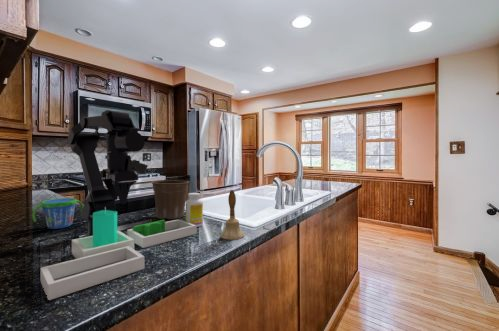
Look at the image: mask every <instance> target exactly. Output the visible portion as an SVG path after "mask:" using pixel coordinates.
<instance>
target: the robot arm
mask: <svg viewBox="0 0 499 331" xmlns="http://www.w3.org/2000/svg"><path fill="white" fill-rule="evenodd" d="M100 114H101V115H95V116H93V115H92V116H82V117H81V118H80V119H79V122H78V123H77V124H75V125H73V126H72V127H71V128H70V131H69V132H68V136H67V143H68V145H69V146H70V148H71V152H73V153H74V154H76V156H78V157H79V160H80V164H81V168H82V172H83V176H84V180H85V184H86V187H87V191H88V193H87V195H86V197H85V200H84V203H85V204H83V206H84V207H83V209H82V211H81V210H80V212H81V214H80V215H81V216H80V217H81V220H83V221H88V222H87V223H88V227H87V228H88V232H86V233H85V234H84V236H85V237H88V236H93V213H94V212H98V211H101V210H105V207H106V210H108V211H116V208H117V202H116V201H117V200H119V203H120V204H121V205H126V204H127V201H128V197H129V194H130V189H131V187H132V186H133V185H134V184H136V183H137V181H139V175H146V173H147V172H146V171H147V170H148V167H149V165H148V164H145V163H142V162H141V161H140V160H136V159H132V156H131V155H130V154H129V153H133V152H137V153H138V152H140V151H142V150H143V148H144V147H145V138H144V137H143V135H142V134H141V133H139V129H138V128H137V127H136V126H135V124H134V121H133V119H132V118H131V117H130V114H129V113H128V112H123V111H122V112H121V111H116V110H109V109H107V110H103V111H102V112H101V113H100ZM85 129H88V130H94V133H93V132H83V131H84V130H85ZM99 129H105V130H106V131H107V132H105V133H104V136H103V138H105V139H106V143H105V144H106V155H104V157H105V160H106V165H107V168H103V169H102V170H100V168H99V163H98V160H97V156H96V153H95V152H96V149H97V147H98V143H99V140H100V138H101V136H100V134H99Z"/></svg>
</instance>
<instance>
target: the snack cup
mask: <svg viewBox="0 0 499 331" xmlns="http://www.w3.org/2000/svg"><path fill="white" fill-rule="evenodd" d="M77 203H79V204H80V213H79V214H80V215H81V211H82V209H83V207H84V204H83V202H82V201H80V200H78V199H76V198H74V197H73V198H71V197H65V198H63V197H62V198H54V199H53V198H52V199H46V200H43V201H42V202H41V203H39V204H38V205H36V206H35V207H34V209H33V211H32V215H31V216H32V217H31V218H32V220H33V223H36V222H37V218H36V211H37V210H38V209H39V208H40V207H41V208H42V211H43V213H44V218H45V222H46V227H47V228H48V229H50V230H51V229H52V230H57V229H58V230H59V229H64V228H68V227H71V225H72V224H73V222H74V214H75V208H76V205H77Z"/></svg>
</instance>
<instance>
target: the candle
mask: <svg viewBox="0 0 499 331" xmlns="http://www.w3.org/2000/svg"><path fill="white" fill-rule="evenodd" d="M117 231H118V211H116V210H115V211H108V210H106V207H105V210H101V211H98V212H94V213H93V248H95V247H99V246H104V245H108V244H112V243H117Z"/></svg>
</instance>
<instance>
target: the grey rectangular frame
mask: <svg viewBox="0 0 499 331" xmlns="http://www.w3.org/2000/svg"><path fill="white" fill-rule="evenodd" d="M145 268H146V266H145V256H144V255H143V254H141V253H140V252H139V251H137V250H135V248H134V249H132V248H131V247H129V246H126V247H122V248H118V249H114V250H110V251H106V252H102V253H98V254H94V255H90V256H86V257H82V258H78V259H76V258H74V259H70V260H66V261H63V262H58V263H54V264H50V265H46V266H42V267H40V274H39V275H40V284H41V286H42V289H43V288H44V289H43V290H44V293H45V296H46V295H47V296H46V297H47V301H48V300H49V301H51V300H54V299H57V298H60V297H63V296H66V295H69V294H72V293H75V292H78V291H81V290H85V289H87V288H91V287H93V286H96V285H99V284H102V283H106V282H109V281H111V280H115V279H117V278H120V277H123V276H126V275H129V274H132V273H136V272H139V271H141V270H142V271H143V270H144V269H145Z"/></svg>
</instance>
